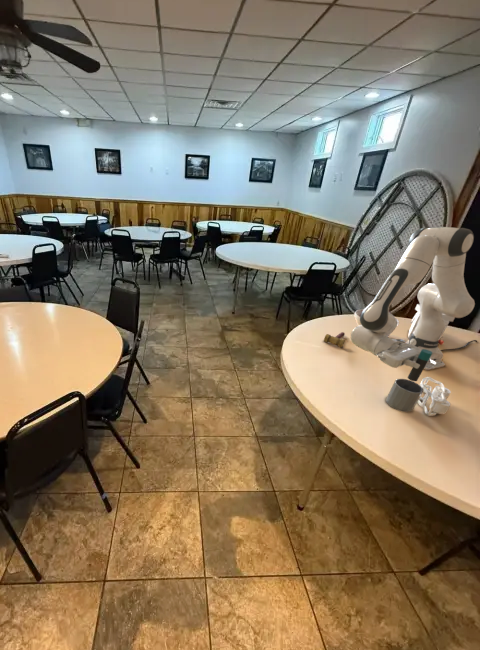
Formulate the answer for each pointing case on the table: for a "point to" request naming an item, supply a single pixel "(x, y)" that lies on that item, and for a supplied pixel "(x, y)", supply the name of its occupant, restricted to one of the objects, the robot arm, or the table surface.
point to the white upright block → (417, 316)
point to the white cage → (435, 397)
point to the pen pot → (404, 395)
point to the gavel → (335, 339)
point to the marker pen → (423, 360)
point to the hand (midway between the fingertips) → (422, 365)
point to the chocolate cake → (358, 313)
